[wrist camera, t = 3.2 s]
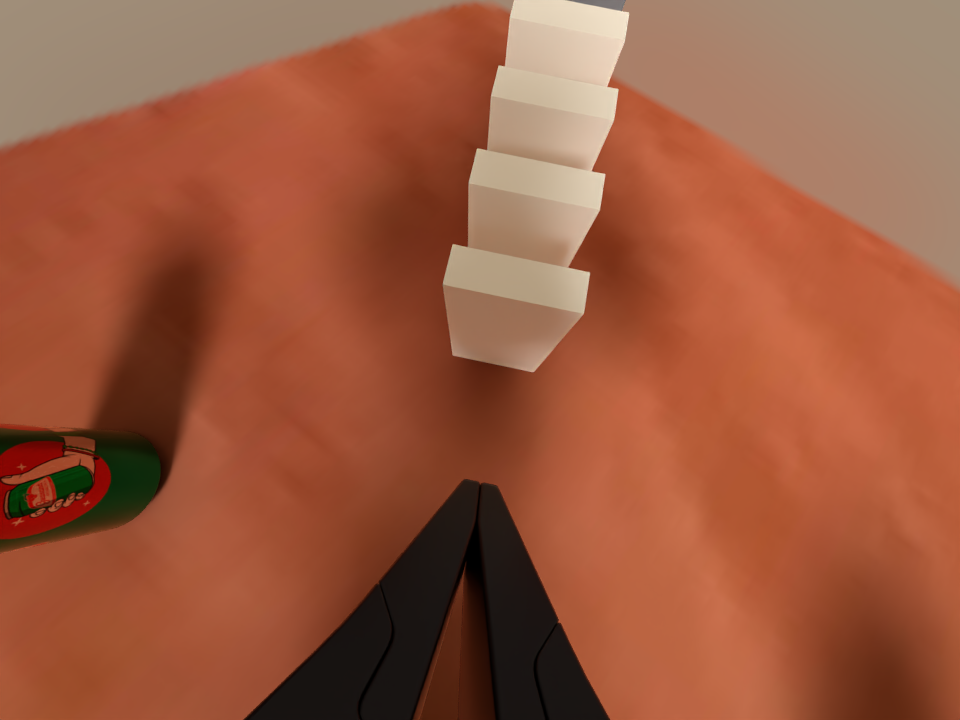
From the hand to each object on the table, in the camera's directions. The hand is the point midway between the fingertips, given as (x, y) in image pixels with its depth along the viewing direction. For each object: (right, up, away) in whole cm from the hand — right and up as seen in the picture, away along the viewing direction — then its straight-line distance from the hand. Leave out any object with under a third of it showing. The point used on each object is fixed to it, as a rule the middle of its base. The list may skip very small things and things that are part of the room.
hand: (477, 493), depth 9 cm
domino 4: (+4, +16, +17) cm, 23 cm away
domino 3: (+3, +12, +16) cm, 20 cm away
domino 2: (+2, +8, +15) cm, 17 cm away
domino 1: (+1, +4, +14) cm, 14 cm away
